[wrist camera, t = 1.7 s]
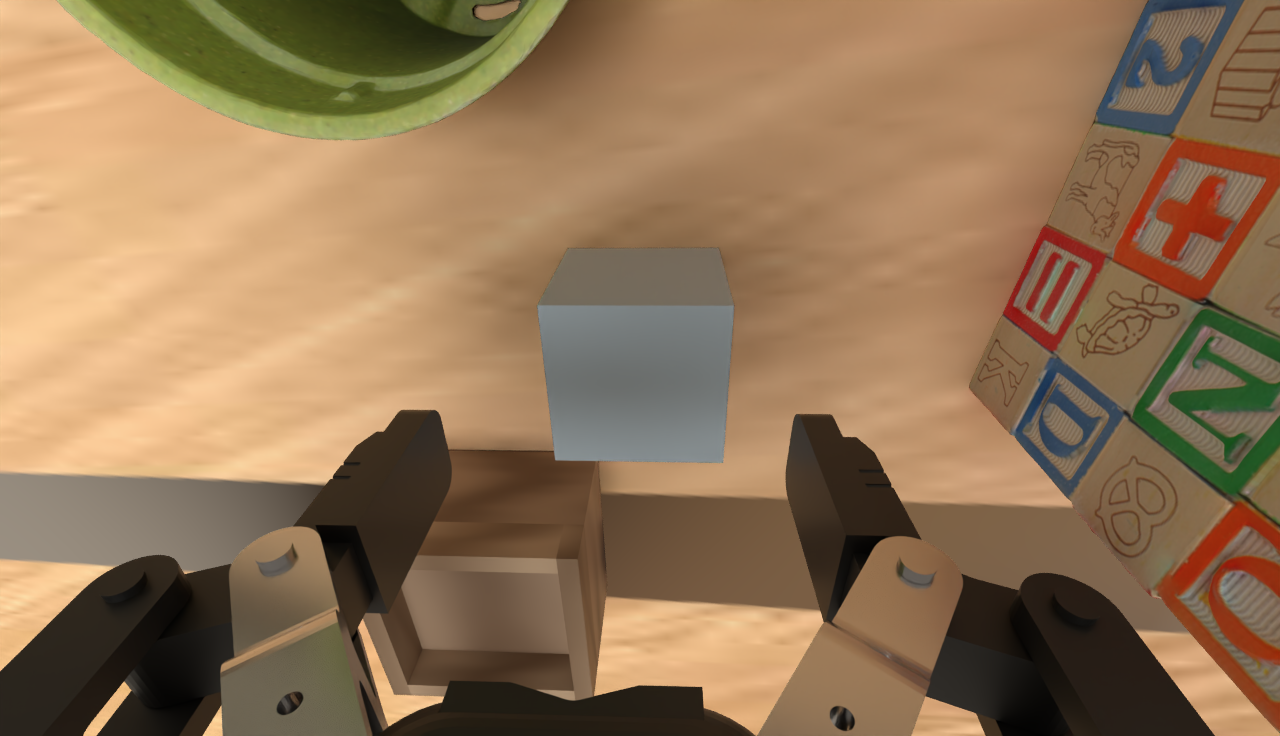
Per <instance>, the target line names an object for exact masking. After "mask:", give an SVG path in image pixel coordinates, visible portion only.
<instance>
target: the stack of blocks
mask: <svg viewBox="0 0 1280 736" xmlns="http://www.w3.org/2000/svg"><path fill="white" fill-rule="evenodd" d="M969 388H970V390H971V391H972V392H973V393H974V394H975V396H976V397H977V398H978V399H979V400H980V401H981V402H982V403H983V404H984V405H985V406H986V407H987V408H988V410H989V411H990V412H991V413H992V415H993V416H994V417H995V418H996V419H997V420H998V421H999V423H1000V424H1001V425H1002V426H1003V427H1004V428H1005V429H1006V430H1007V431H1008V432H1009V433H1010V434H1011V435H1013V436H1015V438H1016V439H1017V441H1018V442H1019V443H1020V444H1021V445H1022V447H1023V448H1024V449H1025V450H1026V451H1027V453H1028V454H1029V455H1030V456H1031V457H1032V458H1033V459H1034V460H1035V461H1036V462H1037V464H1038V465H1039V466H1040V467H1041V468H1042V469H1043V470H1044V471H1045V473H1046V474H1047V475H1048V476H1049V477H1050V478H1051V480H1052V481H1053V482H1054V483H1055V485H1056V486H1057V487H1058V488H1059V489H1060V490H1061V492H1062V493H1063V494H1064V495H1065V496H1066V497H1067V498H1068V499H1069V500H1070V501H1071V502H1072V505H1073V508H1074V509H1075V511H1076V512H1077V513H1078V514H1079V515H1080V516H1081V517H1082V519H1083V520H1084V521H1085V522H1086V523H1087V524H1088V526H1089V527H1090V529H1091V530H1092V532H1094V533H1095V534H1096V535H1097V536H1098V537H1099V538H1100V539H1101V541H1102V542H1103V543H1104V545H1105V546H1106V547H1107V548H1108V549H1109V550H1110V551H1111V553H1112V554H1114V556H1115V557H1116V558H1117V559H1118V560H1119V561H1120V562H1121V563H1122V565H1123V566H1124V567H1125V569H1126V570H1127V571H1128V572H1129V573H1130V574H1131V575H1132V576H1133V577H1134V578H1135V579H1136V580H1137V581H1138V583H1139V584H1140V585H1141V586H1142V587H1143V589H1144V590H1145V591H1146V592H1147V593H1148V594H1149V595H1150V596H1151V597H1153V598H1158V599H1162V600H1163V601H1164V603H1165V604H1166V606H1167V607H1168V608H1169V609H1170V610H1171V612H1172V613H1173V614H1174V615H1175V616H1176V617H1177V619H1178V620H1179V621H1180V622H1181V623H1182V624H1183V625H1184V627H1185V628H1186V629H1187V630H1188V631H1189V632H1190V633H1191V635H1192V636H1193V637H1194V638H1195V639H1196V640H1197V641H1198V643H1199V644H1200V645H1201V646H1202V647H1203V648H1204V649H1205V650H1206V652H1207V653H1208V654H1209V655H1210V656H1211V657H1212V658H1213V660H1214V661H1215V662H1216V663H1217V664H1218V665H1219V666H1220V667H1221V669H1222V670H1223V671H1224V672H1225V673H1226V674H1227V675H1228V677H1229V678H1230V679H1231V680H1232V681H1233V682H1234V683H1235V684H1236V686H1237V687H1238V688H1239V689H1240V690H1241V691H1242V692H1243V694H1244V695H1245V696H1246V697H1247V698H1248V699H1249V700H1250V701H1251V703H1252V704H1253V705H1254V706H1255V707H1256V708H1257V709H1258V710H1259V712H1260V713H1261V714H1262V715H1263V716H1264V717H1265V718H1266V719H1267V720H1268V721H1269V722H1270V723H1271V725H1272V726H1273V727H1274V728H1275V729H1276V730H1277V731H1278V732H1279V733H1280V0H1149V1H1148V3H1147V4H1146V6H1145V8H1144V10H1143V12H1142V15H1141V17H1140V19H1139V21H1138V23H1137V25H1136V28H1135V30H1134V32H1133V35H1132V37H1131V39H1130V42H1129V44H1128V46H1127V48H1126V50H1125V52H1124V54H1123V56H1122V58H1121V61H1120V63H1119V65H1118V68H1117V70H1116V72H1115V74H1114V76H1113V78H1112V80H1111V83H1110V85H1109V87H1108V89H1107V92H1106V94H1105V96H1104V98H1103V100H1102V102H1101V104H1100V106H1099V108H1098V110H1097V113H1096V118H1095V123H1094V124H1093V126H1092V127H1091V129H1090V130H1089V132H1088V134H1087V137H1086V139H1085V141H1084V143H1083V145H1082V147H1081V150H1080V152H1079V154H1078V156H1077V159H1076V161H1075V163H1074V165H1073V167H1072V170H1071V172H1070V174H1069V176H1068V178H1067V180H1066V183H1065V185H1064V187H1063V189H1062V191H1061V194H1060V196H1059V198H1058V200H1057V202H1056V204H1055V207H1054V209H1053V211H1052V213H1051V215H1050V218H1049V221H1048V223H1047V224H1046V226H1044V227H1043V229H1042V230H1041V232H1040V234H1039V237H1038V239H1037V241H1036V243H1035V245H1034V247H1033V249H1032V251H1031V253H1030V256H1029V258H1028V260H1027V262H1026V265H1025V267H1024V269H1023V271H1022V273H1021V275H1020V278H1019V280H1018V282H1017V284H1016V286H1015V288H1014V291H1013V293H1012V295H1011V297H1010V299H1009V302H1008V304H1007V306H1006V308H1005V310H1004V312H1003V315H1002V317H1001V318H1000V320H999V322H998V324H997V326H996V328H995V330H994V332H993V334H992V337H991V339H990V341H989V343H988V345H987V347H986V350H985V352H984V354H983V356H982V358H981V360H980V363H979V365H978V367H977V369H976V371H975V374H974V376H973V378H972V380H971V382H970V386H969Z"/></svg>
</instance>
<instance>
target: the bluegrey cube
mask: <svg viewBox="0 0 1280 736" xmlns="http://www.w3.org/2000/svg"><path fill="white" fill-rule="evenodd" d="M537 309H538V317H539V326H540V334H541V343H542V351H543V360H544V368H545V377H546V385H547V394H548V402H549V411H550V419H551V428H552V436H553V445H554V453H555V460H567V461H632V462H697V463H723V458H724V444H725V430H726V415H727V401H728V387H729V373H730V359H731V345H732V331H733V317H734V303H733V299H732V295H731V291H730V288H729V284H728V280H727V276H726V273H725V269H724V265H723V261H722V258H721V254H720V250H719V248H568V249H567V251H566V253H565V255H564V257H563V258H562V260H561V262H560V264H559V266H558V268H557V270H556V271H555V273H554V275H553V277H552V279H551V281H550V282H549V284H548V286H547V288H546V290H545V292H544V294H543V295H542V297H541V299H540V301H539V303H538V305H537Z"/></svg>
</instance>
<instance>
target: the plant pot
mask: <svg viewBox="0 0 1280 736" xmlns="http://www.w3.org/2000/svg"><path fill="white" fill-rule="evenodd" d="M57 1H58V2H59V4H60V5H61V6H62V7H63V8H64V9H65V10H66V11H67V12H68V13H69V14H70V15H72V16H73V17H74V18H75V19H76V20H77V21H78V22H79V23H80V24H81V25H82V26H84V27H85V28H86V29H87V30H89V31H90V32H91V33H93V34H94V35H95V36H97V37H98V38H100V39H101V40H102V41H103V42H104V43H105V44H106V45H107V46H109V47H110V48H111V49H113V50H114V51H115V52H117V53H118V54H120V55H121V56H122V57H124V58H125V59H126V60H128V61H129V62H130V63H132V64H133V65H134V66H136V67H137V68H138V69H140V70H141V71H143V72H145V73H146V74H148V75H150V76H151V77H153V78H154V79H156V80H158V81H159V82H161V83H162V84H164V85H166V86H167V87H169V88H170V89H172V90H174V91H175V92H177V93H179V94H181V95H183V96H185V97H187V98H189V99H191V100H193V101H195V102H197V103H199V104H201V105H202V106H204V107H206V108H208V109H211V110H213V111H215V112H217V113H219V114H222V115H224V116H226V117H229V118H231V119H234V120H236V121H239V122H242V123H245V124H247V125H250V126H253V127H257V128H261V129H265V130H268V131H273V132H277V133H281V134H285V135H290V136H296V137H302V138H311V139H326V140H363V139H372V138H380V137H386V136H391V135H396V134H400V133H404V132H408V131H411V130H415V129H418V128H421V127H424V126H427V125H430V124H432V123H435V122H438V121H440V120H442V119H444V118H446V117H448V116H450V115H452V114H454V113H456V112H458V111H460V110H461V109H463V108H465V107H467V106H469V105H470V104H472V103H473V102H475V101H476V100H478V99H479V98H481V97H482V96H484V95H485V94H486V93H488V92H489V91H491V90H492V89H494V88H495V87H496V86H497V85H498V84H500V83H501V82H502V81H503V80H504V79H505V78H506V77H508V76H509V75H510V74H511V73H512V72H513V71H514V70H515V69H516V68H517V67H518V66H519V65H520V64H521V63H522V62H523V61H524V60H525V59H526V58H527V57H528V56H529V55H530V54H531V53H532V52H533V51H534V49H535V48H536V47H537V46H538V44H539V43H540V42H541V41H542V39H543V38H544V37H545V36H546V34H547V33H548V32H549V30H550V29H551V28H552V26H553V25H554V23H555V22H556V20H557V19H558V17H559V16H560V14H561V13H562V11H563V10H564V8H565V7H566V5H567V4H568V2H569V0H520V2H521V3H519V6H518V9H517V10H516V11H514V12H512V13H510V14H508V15H506V16H505V17H503V18H499V19H495V20H487V21H483V20H481V19H478V18H476V17H475V16H474V15H473V11H472V8H473V7H474V6H475V5H488V4H497V3H501V2H505V1H507V0H57ZM510 1H512V0H510Z"/></svg>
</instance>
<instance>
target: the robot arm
mask: <svg viewBox="0 0 1280 736" xmlns="http://www.w3.org/2000/svg"><path fill="white" fill-rule="evenodd" d="M451 478H452V465H451V460H450V456H449V451H448V447H447V443H446V438H445V434H444V430H443V425H442V421H441V417H440V415H439V413H438V412H437V411H436V410H401V411H400V412H398V414H397V415H396V416H395V418H394V419H393V420H392V422H391V423H390V424H389V426H388V427H387V428H386V430H385V431H384V432H376V433H374V434H373V435H371V436H370V437H368V438H367V439H366V440H364V441H363V442H361V443H360V444H358V445H357V446H356V447H355V448H354V450H353V451H352V452H351V453H350V455H349V456H348V457H347V458H346V460H345V461H344V465H341V466H340V467H339V469H338V470H337V471H336V473H335V474H334V475H333V479H330V480H329V481H328V483H327V484H326V485H325V487H324V488H323V489H322V491H321V492H320V493H319V494H318V496H317V497H316V498H315V499H314V501H313V502H312V503H311V504H310V506H309V507H308V508H307V510H306V511H305V512H304V513H303V515H302V516H301V517H300V518H299V520H298V521H297V522H296V523H295V525H294V526H293V527H288V528H283V529H280V530H277V531H273V532H271V533H269V534H266V535H264V536H262V537H261V538H259V539H257V540H255V541H254V542H252V543H251V544H249V545H248V546H247V547H246V548H245V549H244V550H242V551H241V552H240V554H239V555H238V556H237V557H236V558H235V559H234V561H233V563H232V564H228V565H224V566H219V567H215V568H211V569H206V570H201V571H197V572H193V573H188V574H184V572H183V571H182V569H181V568H180V566H179V564H178V563H177V561H176V560H175V559H174V558H172V557H170V556H165V555H153V556H146V557H141V558H138V559H135V560H132V561H129V562H126V563H124V564H122V565H119V566H117V567H115V568H113V569H111V570H110V571H108V572H106V573H104V574H103V575H101V576H100V577H98V578H97V579H96V580H94V581H93V582H92V583H90V584H89V585H88V586H87V587H86V588H85V589H84V590H82V591H81V592H80V593H79V594H78V595H77V596H76V597H75V598H74V599H73V600H72V601H71V602H70V603H69V604H68V605H67V606H66V607H65V608H64V609H63V610H62V611H61V612H60V613H59V614H58V615H57V616H56V617H55V618H54V619H53V620H52V621H51V622H50V623H49V624H48V625H47V626H46V627H45V628H44V629H43V630H42V631H41V632H40V633H39V634H38V635H37V636H36V637H35V638H34V639H33V640H32V641H31V642H30V643H29V644H28V645H27V646H26V647H25V648H24V649H23V650H22V651H21V652H20V653H19V654H18V655H16V656H15V657H14V658H13V659H12V660H11V661H10V662H9V663H8V664H7V665H6V666H5V667H4V668H3V669H2V670H1V671H0V736H83V734H84V732H85V731H86V729H87V727H88V726H89V725H90V723H91V722H92V721H93V719H94V718H95V717H96V716H97V714H98V713H99V712H100V711H101V709H102V708H103V707H104V706H105V704H106V703H107V702H108V701H109V699H110V698H111V697H112V696H113V694H114V693H115V692H116V691H117V689H118V688H119V687H120V686H121V684H122V683H123V682H124V681H125V683H126V684H127V685H128V686H129V688H130V689H131V690H132V691H131V692H130V693H129V695H128V696H127V697H126V699H125V700H124V701H123V702H122V704H121V705H120V706H119V708H118V709H117V710H116V711H115V713H114V714H113V715H112V717H111V718H110V719H109V720H108V722H107V723H106V724H105V726H104V727H103V728H102V729H101V731H100V732H99V733H98V735H97V736H202V735H203V734H204V732H205V731H206V729H207V727H208V726H209V724H210V723H211V721H212V719H213V718H214V716H215V715H216V713H217V711H218V710H219V708H220V706H221V705H222V728H223V736H755V735H754V734H753V733H751V732H750V731H749V730H748V729H746V728H745V727H743V726H742V725H740V724H738V723H737V722H735V721H733V720H732V719H730V718H728V717H726V716H723V715H721V714H719V713H717V712H714V711H711V710H708V709H705V708H704V707H703V691H702V687H679V686H640V685H639V686H635V687H631V688H627V689H623V690H618V691H614V692H610V693H606V694H602V695H597V696H593V697H589V698H585V699H581V700H567V699H563V698H560V697H557V696H554V695H550V694H547V693H544V692H541V691H538V690H535V689H531V688H528V687H525V686H522V685H519V684H515V683H512V682H486V681H450V682H449V685H448V687H447V690H446V693H445V696H444V699H443V702H442V703H438V704H435V705H432V706H429V707H426V708H424V709H421V710H418V711H416V712H414V713H412V714H410V715H408V716H406V717H404V718H402V719H401V720H399V721H397V722H396V723H394V724H392V725H391V726H389V727H388V724H387V722H386V719H385V716H384V713H383V709H382V706H381V703H380V699H379V696H378V692H377V689H376V685H375V682H374V679H373V675H372V672H371V668H370V665H369V661H368V658H367V654H366V651H365V647H364V644H363V641H362V637H361V634H360V632H359V629H358V626H359V624H360V622H361V620H362V619H363V617H364V615H365V613H381V614H388V613H389V611H390V609H391V607H392V605H393V603H394V601H395V599H396V597H397V595H398V593H399V591H400V589H401V587H402V585H403V582H404V580H405V578H406V576H407V574H408V572H409V570H410V568H411V566H412V564H413V562H414V560H415V558H416V556H417V554H418V552H419V550H420V548H421V546H422V544H423V542H424V540H425V538H426V536H427V534H428V532H429V530H430V527H431V525H432V523H433V521H434V519H435V517H436V515H437V513H438V511H439V509H440V507H441V505H442V503H443V501H444V499H445V497H446V495H447V493H448V491H449V488H450V484H451ZM786 490H787V496H788V500H789V503H790V506H791V510H792V513H793V517H794V520H795V523H796V527H797V531H798V534H799V538H800V541H801V544H802V548H803V552H804V555H805V558H806V562H807V566H808V569H809V572H810V576H811V579H812V583H813V586H814V589H815V593H816V597H817V600H818V604H819V607H820V611H821V614H822V618H823V621H824V623H823V624H822V626H821V627H820V629H819V631H818V632H817V634H816V636H815V637H814V639H813V641H812V643H811V644H810V646H809V648H808V649H807V651H806V653H805V655H804V656H803V658H802V660H801V661H800V663H799V665H798V667H797V668H796V670H795V672H794V673H793V675H792V677H791V679H790V680H789V682H788V684H787V685H786V687H785V689H784V691H783V692H782V694H781V696H780V698H779V699H778V701H777V703H776V704H775V706H774V708H773V710H772V711H771V713H770V715H769V716H768V718H767V720H766V722H765V723H764V725H763V727H762V728H761V730H760V732H759V734H758V735H757V736H911V735H912V732H913V729H914V726H915V724H916V721H917V718H918V715H919V712H920V710H921V707H922V704H923V701H924V698H925V696H927V697H930V698H933V699H936V700H939V701H941V702H944V703H947V704H950V705H953V706H956V707H959V708H962V709H965V710H968V711H971V712H974V713H976V714H977V716H978V719H979V721H980V723H981V726H982V728H983V731H984V733H985V735H986V736H1215V735H1214V734H1213V733H1212V731H1211V730H1210V729H1209V727H1208V726H1207V725H1206V723H1205V722H1204V721H1203V720H1202V718H1201V717H1200V716H1199V714H1198V713H1197V712H1196V710H1195V709H1194V708H1193V706H1192V705H1191V704H1190V702H1189V701H1188V700H1187V698H1186V697H1185V696H1184V695H1183V693H1182V692H1181V691H1180V689H1179V688H1178V687H1177V685H1176V684H1175V683H1174V681H1173V680H1172V679H1171V677H1170V676H1169V675H1168V673H1167V672H1166V671H1165V669H1164V668H1163V667H1162V666H1161V664H1160V663H1159V662H1158V660H1157V659H1156V658H1155V656H1154V655H1153V654H1152V652H1151V651H1150V650H1149V648H1148V647H1147V646H1146V644H1145V643H1144V642H1143V640H1142V639H1141V638H1140V637H1139V635H1138V634H1137V633H1136V631H1135V630H1134V629H1133V627H1132V626H1131V625H1130V623H1129V622H1128V621H1127V619H1126V618H1125V617H1124V615H1123V614H1122V613H1121V612H1120V611H1119V609H1118V608H1117V607H1116V606H1115V605H1114V604H1113V603H1112V602H1111V601H1110V600H1109V599H1107V598H1106V597H1105V596H1103V595H1102V594H1101V593H1099V592H1098V591H1096V590H1095V589H1093V588H1091V587H1090V586H1088V585H1086V584H1084V583H1082V582H1079V581H1077V580H1075V579H1072V578H1069V577H1066V576H1063V575H1058V574H1052V573H1039V574H1034V575H1031V576H1029V577H1027V578H1026V579H1025V580H1024V581H1023V583H1022V584H1021V586H1020V589H1019V590H1015V589H1011V588H1007V587H1003V586H1000V585H996V584H992V583H988V582H985V581H981V580H977V579H974V578H971V577H968V576H966V575H963V574H961V572H960V570H959V568H958V567H957V565H956V564H955V563H954V561H953V560H952V559H951V558H950V557H949V556H948V555H946V554H945V553H944V552H943V551H942V550H940V549H938V548H937V547H935V546H934V545H931V544H929V543H927V542H925V541H922V540H921V538H920V536H919V534H918V532H917V531H916V529H915V527H914V525H913V523H912V521H911V520H910V518H909V516H908V514H907V512H906V510H905V508H904V507H903V505H902V503H901V501H900V499H899V497H898V495H897V494H896V492H895V490H894V488H892V487H891V482H890V481H889V479H888V477H887V475H886V473H884V470H883V468H882V466H881V464H880V462H879V460H878V458H877V457H876V455H875V453H874V452H873V451H872V450H871V449H870V448H868V447H867V446H866V445H865V444H864V443H863V442H861V441H860V440H859V439H858V438H857V437H843V436H842V434H841V432H840V430H839V428H838V426H837V424H836V422H835V420H834V418H833V416H832V415H830V414H796V415H795V417H794V421H793V426H792V433H791V439H790V446H789V453H788V459H787V466H786Z"/></svg>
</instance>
